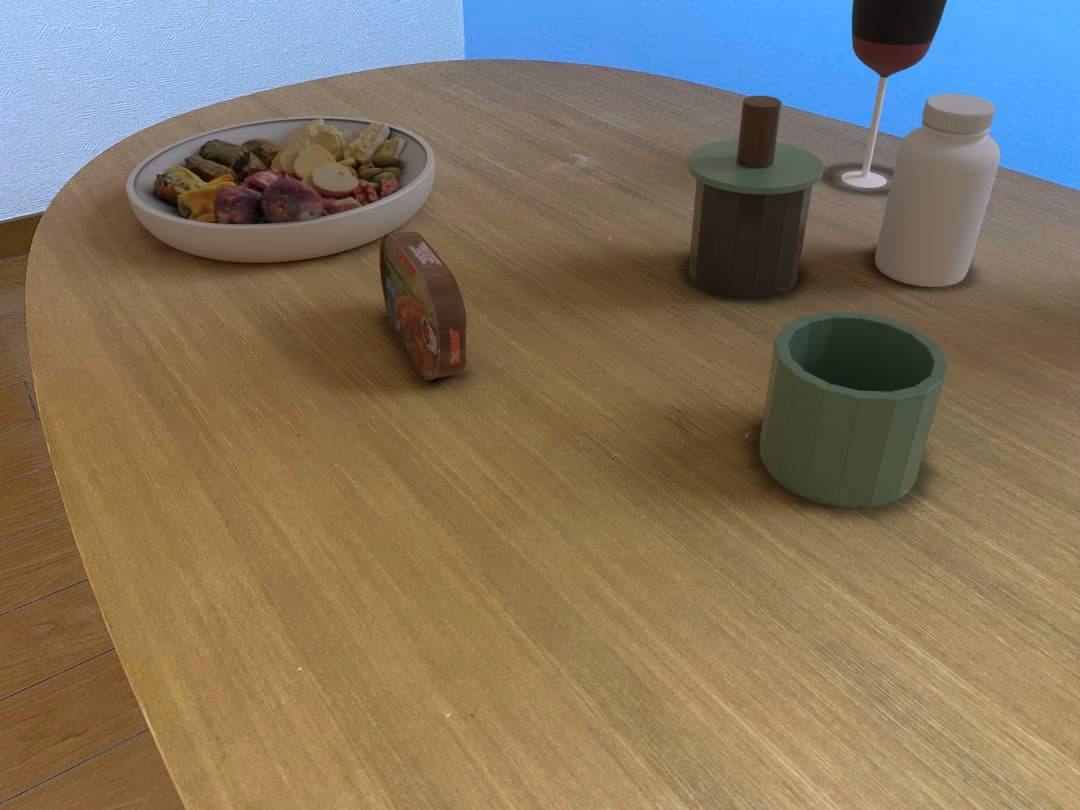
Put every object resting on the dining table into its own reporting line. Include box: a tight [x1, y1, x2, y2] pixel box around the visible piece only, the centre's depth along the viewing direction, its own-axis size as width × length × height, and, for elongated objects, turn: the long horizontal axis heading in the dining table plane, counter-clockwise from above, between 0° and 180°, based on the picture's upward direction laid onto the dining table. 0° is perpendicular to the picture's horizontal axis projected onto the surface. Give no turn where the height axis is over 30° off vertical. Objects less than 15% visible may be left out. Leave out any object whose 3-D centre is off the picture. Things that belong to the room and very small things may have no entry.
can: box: [759, 311, 949, 509], centre depth 60 cm, size 10×10×8 cm
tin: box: [379, 231, 468, 381], centre depth 72 cm, size 15×3×8 cm, turn 23°
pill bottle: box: [874, 93, 1001, 288], centre depth 80 cm, size 8×8×15 cm
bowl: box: [125, 115, 436, 264], centre depth 95 cm, size 30×30×8 cm
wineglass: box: [840, 0, 948, 189], centre depth 95 cm, size 8×9×20 cm
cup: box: [688, 179, 813, 300], centre depth 81 cm, size 9×9×10 cm
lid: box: [686, 95, 824, 194], centre depth 76 cm, size 11×11×6 cm
